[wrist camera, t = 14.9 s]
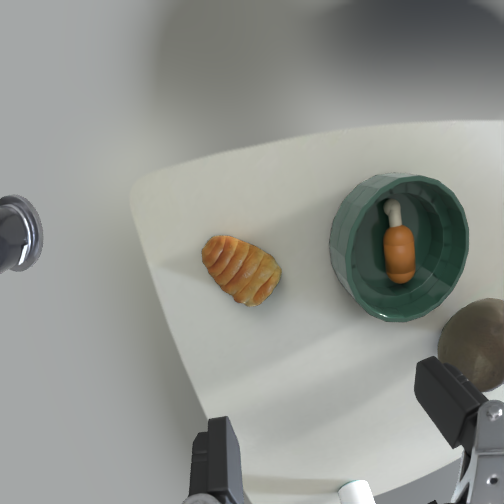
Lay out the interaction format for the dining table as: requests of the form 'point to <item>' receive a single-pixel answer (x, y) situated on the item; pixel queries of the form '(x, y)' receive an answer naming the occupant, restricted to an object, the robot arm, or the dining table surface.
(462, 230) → the green faceted bowl
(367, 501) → the can
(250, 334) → the dining table surface
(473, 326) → the grey clay lump
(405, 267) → the drumstick
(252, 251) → the pastry
